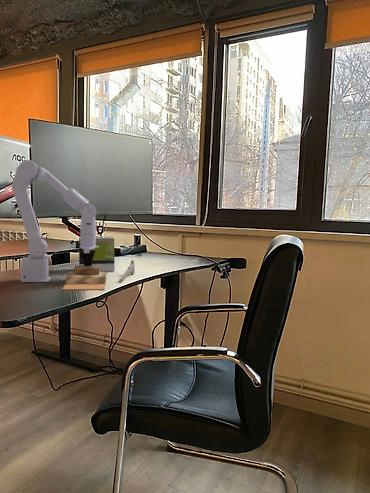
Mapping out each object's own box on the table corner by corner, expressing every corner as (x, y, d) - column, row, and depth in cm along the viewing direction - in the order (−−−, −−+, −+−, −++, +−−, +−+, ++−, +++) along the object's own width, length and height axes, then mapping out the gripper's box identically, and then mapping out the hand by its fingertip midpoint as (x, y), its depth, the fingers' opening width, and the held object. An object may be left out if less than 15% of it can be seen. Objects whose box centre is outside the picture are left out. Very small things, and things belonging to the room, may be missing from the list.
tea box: (113, 268, 181) (113, 236, 179) (114, 272, 171) (114, 238, 170) (79, 268, 177) (79, 235, 176) (78, 272, 168) (78, 237, 166)
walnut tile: (73, 275, 145) (73, 268, 145) (75, 272, 151) (75, 265, 151) (98, 275, 147) (98, 268, 147) (99, 272, 153) (99, 265, 153)
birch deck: (65, 284, 142) (65, 276, 142) (69, 279, 152) (69, 271, 152) (105, 284, 145) (105, 276, 144) (106, 279, 155) (106, 271, 154)
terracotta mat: (62, 290, 134) (62, 289, 134) (65, 284, 142) (65, 283, 142) (104, 289, 136) (104, 288, 136) (105, 284, 144) (105, 283, 144)
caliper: (132, 274, 169) (132, 259, 168) (134, 274, 169) (134, 259, 168) (118, 283, 149) (118, 267, 148) (121, 283, 149) (121, 267, 148)
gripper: (97, 236, 145) (97, 272, 147) (99, 233, 160) (99, 266, 161) (77, 235, 144) (77, 272, 146) (81, 232, 158) (81, 266, 160)
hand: (88, 269), depth 153 cm, fingers closed
